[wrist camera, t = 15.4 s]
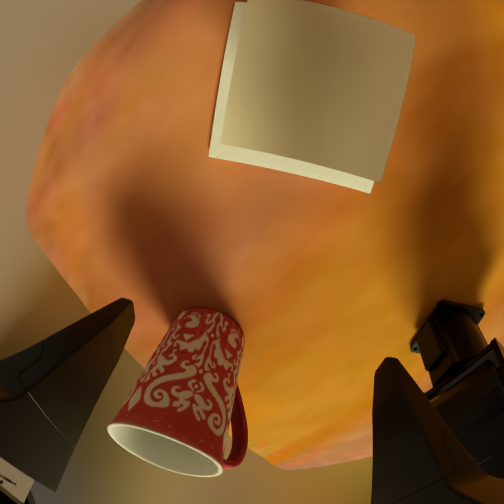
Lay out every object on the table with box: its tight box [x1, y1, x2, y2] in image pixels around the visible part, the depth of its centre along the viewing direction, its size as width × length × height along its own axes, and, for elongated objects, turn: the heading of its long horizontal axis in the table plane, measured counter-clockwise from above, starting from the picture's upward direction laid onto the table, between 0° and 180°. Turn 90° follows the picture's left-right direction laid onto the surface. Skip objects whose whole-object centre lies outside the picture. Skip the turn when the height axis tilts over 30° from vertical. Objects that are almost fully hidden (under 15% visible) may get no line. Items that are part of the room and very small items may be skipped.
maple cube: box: [220, 0, 416, 183], centre depth 9 cm, size 5×5×5 cm
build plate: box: [209, 2, 374, 193], centre depth 16 cm, size 11×11×1 cm
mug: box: [107, 308, 248, 477], centre depth 23 cm, size 13×9×14 cm
